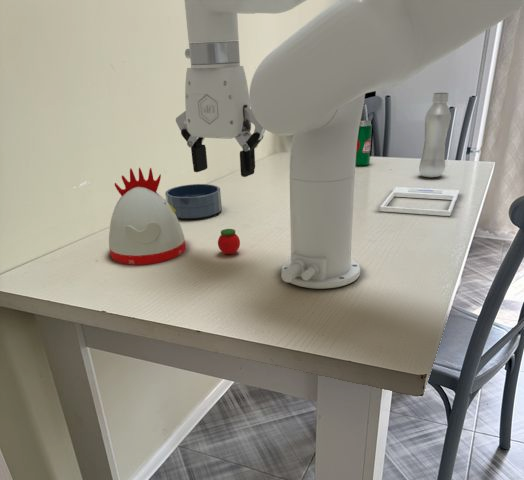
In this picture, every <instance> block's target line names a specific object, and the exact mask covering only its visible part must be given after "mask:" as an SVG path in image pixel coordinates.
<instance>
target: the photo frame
mask: <svg viewBox="0 0 524 480" xmlns="http://www.w3.org/2000/svg"><path fill="white" fill-rule="evenodd" d="M459 195H460V190H459V189H445V188H444V189H442V188H427V187H425V188H424V187H409V186H407V187H405V186H395V187H394V189H393V190H392V191H391V192H390V194H388V196H387V197H386V199H384V201H383V202H382V203H381V204H380V206H379V212H388V213H399V214H401V213H402V214H415V215H416V214H417V215H429V216H443V217H444V216H445V217H451V216H452V212H453V210H454V207H455V204H456V202H457V200H458V197H459ZM394 197H398V198H400V197H401V198H415V199H431V200H446V201H447V200H448V201H451V202H450V204H449V206H448V209H447V210H445V209H431V208H430V209H429V208H417V207H404V206H403V207H402V206H388V205H389V204H390V203H391V201H392V200H393V199H394Z"/></svg>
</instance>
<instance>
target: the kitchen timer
mask: <svg viewBox="0 0 524 480" xmlns="http://www.w3.org/2000/svg"><path fill="white" fill-rule="evenodd" d="M153 174H154V173H153V169H152V167H149V170H148V177H147V179H145V177H144V174H143V171H142V169H141V167H140V166H139V167H138V180H137V178H136V176H135V173H134V170H133V169H132V167H130V168H129V180H128V179H127V178H126V177H125V176H124V175H121V180H122V182H123V185H124V188H121V187H120V185H118V183H116V182H114V187H115V189H116V190H117V192H118V193H119V195H120V198H119V199H118V200H117V202H116V204H115V206H114V209H113V211H112V215H111V217H110V223H109V233H108V247H109V252H110V257H111V258H112V260H113V261H115V262H116V263H120V264H124V265H133V266H135V265H136V266H139V265H140V266H141V265H151V264H158V263H162V262H166V261H170V260H172V259H174V258H177V257H179V256H181V255H183V254H184V252H185V251H186V249H187V248H186V240H185V234H184V231H183V228H182V226H181V223H180V221H179V218H177V217H176V214H175V211H176V210H175V209H174V208H173V207H171V206H170V205H169V204H168V202H167V201H166V198H164V197H163V196H162V195H161V194H159V193H158V192H157V191H158V189H159V185H160V182H161V178H162V175H161V173H160V174H159V175H158V177H157V178H156V179H154V175H153Z"/></svg>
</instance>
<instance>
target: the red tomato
mask: <svg viewBox="0 0 524 480" xmlns="http://www.w3.org/2000/svg"><path fill="white" fill-rule="evenodd" d="M240 240H241V239H240V237H239V236H238V234H236V230H235V229H234V228H225V229H222V230H220V235H219V237H218V240H217V247H218V249H219V250H220V251H221V253H223V254H225V255H233V254H235V253H237V252H238V250H240V246H241V241H240Z"/></svg>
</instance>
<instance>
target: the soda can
mask: <svg viewBox="0 0 524 480" xmlns="http://www.w3.org/2000/svg"><path fill="white" fill-rule="evenodd" d="M372 128H373V125H372V121H371V120H366V119H365V120H363V119H361V121H360V126H359V132H358V139H357V149H356V164H355V167H367V166H369V164H370V161H371V148H372V147H371V145H372V131H373V130H372Z"/></svg>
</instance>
